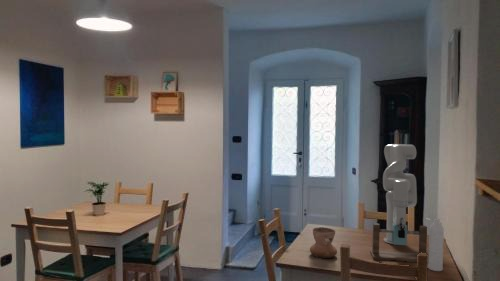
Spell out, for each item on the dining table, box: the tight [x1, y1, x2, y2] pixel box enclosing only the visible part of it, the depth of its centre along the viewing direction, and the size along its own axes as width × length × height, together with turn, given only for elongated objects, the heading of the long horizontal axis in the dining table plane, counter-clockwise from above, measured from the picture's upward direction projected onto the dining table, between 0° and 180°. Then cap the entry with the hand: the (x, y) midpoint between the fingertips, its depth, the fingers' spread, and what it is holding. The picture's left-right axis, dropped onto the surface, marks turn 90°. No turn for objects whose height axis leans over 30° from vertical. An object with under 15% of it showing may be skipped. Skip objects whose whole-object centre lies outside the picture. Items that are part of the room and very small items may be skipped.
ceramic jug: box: [309, 226, 338, 259], centre depth 217 cm, size 18×14×14 cm
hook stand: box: [369, 222, 428, 263], centre depth 215 cm, size 12×28×18 cm, turn 82°
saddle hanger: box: [392, 223, 408, 246], centre depth 215 cm, size 6×6×10 cm
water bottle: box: [424, 217, 445, 272], centre depth 198 cm, size 9×6×25 cm
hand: (399, 235), depth 215 cm, fingers open, 9 cm apart
